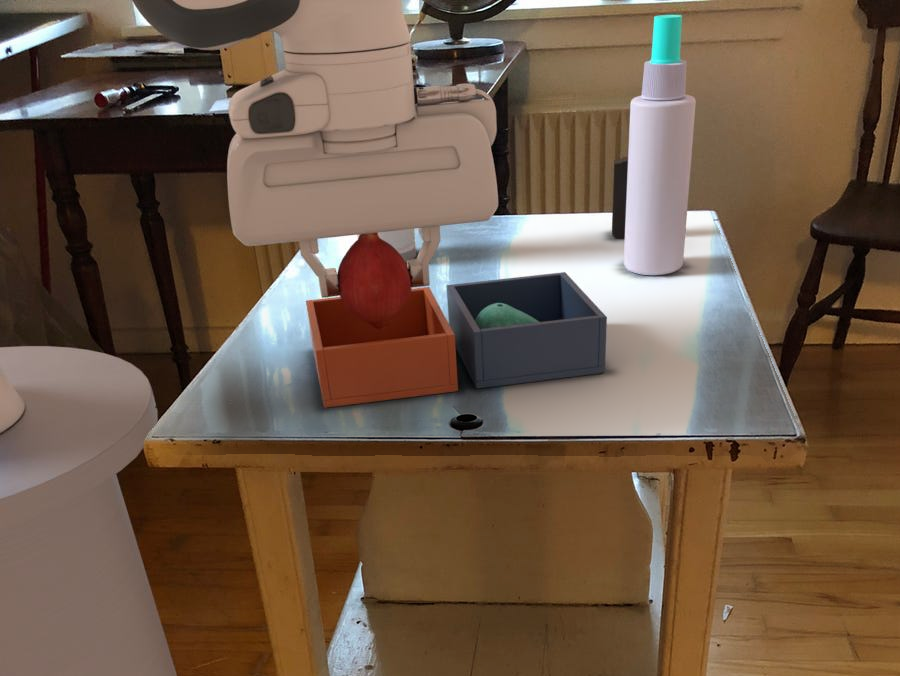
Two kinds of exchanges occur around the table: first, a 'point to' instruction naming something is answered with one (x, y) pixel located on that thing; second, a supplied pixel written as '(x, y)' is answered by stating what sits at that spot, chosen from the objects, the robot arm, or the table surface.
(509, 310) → the whale figurine
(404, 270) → the onion
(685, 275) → the table surface
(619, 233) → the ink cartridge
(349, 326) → the terracotta bin
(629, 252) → the spray bottle
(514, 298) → the blue bin
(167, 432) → the table surface
